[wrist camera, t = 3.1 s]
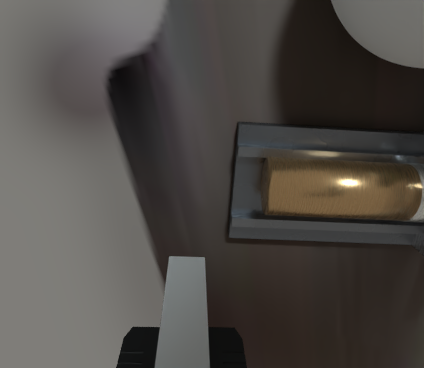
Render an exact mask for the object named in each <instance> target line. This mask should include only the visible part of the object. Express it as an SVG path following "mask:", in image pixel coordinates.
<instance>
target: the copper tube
mask: <svg viewBox="0 0 424 368" xmlns="http://www.w3.org/2000/svg"><path fill="white" fill-rule="evenodd" d="M261 205H262V210H263V213H264V214H265V215H281V216H305V217H328V218H351V219H374V220H397V221H404V222H424V164H417V163H383V162H364V161H345V160H325V159H306V158H287V157H267V158H266V159H265V162H264V165H263V170H262V177H261Z"/></svg>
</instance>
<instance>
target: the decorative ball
mask: <svg viewBox="0 0 424 368" xmlns="http://www.w3.org/2000/svg"><path fill="white" fill-rule="evenodd" d="M331 2H332V5H333V7H334V10H335V12H336V14H337V16H338V18H339V20H340V21H341V23H342V25H343V26H344V27H345V29H346V30H347V31H348V33H349V34H350V35H351V36H352V37H353V38H354V39H355V40H356V41H357V42H358V43H359V44H360V45H361V46H363V47H364V48H365V49H367V50H368V51H370V52H371V53H373V54H374V55H376V56H378V57H380V58H382V59H385V60H387V61H390V62H392V63H396V64H399V65H403V66H408V67H414V68H424V0H331Z"/></svg>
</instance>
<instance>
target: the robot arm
mask: <svg viewBox="0 0 424 368" xmlns="http://www.w3.org/2000/svg"><path fill="white" fill-rule="evenodd" d="M116 368H247V365H246V359H245V354H244V347H243V341H242V338H241V337H240V335H239V334H238V332H237V331H236V329H235V328H219V327H208V316H207V294H206V272H205V257H178V256H169V262H168V270H167V278H166V285H165V293H164V300H163V308H162V315H161V323H160V327H132V328H131V330H130V331H129V332H128V333H127V335H126V336H125V337H124V339H123V344H122V347H121V351H120V355H119V359H118V364H117V367H116Z"/></svg>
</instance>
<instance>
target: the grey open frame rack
mask: <svg viewBox="0 0 424 368" xmlns="http://www.w3.org/2000/svg"><path fill="white" fill-rule="evenodd" d="M267 157H287V158H306V159H325V160H345V161H364V162H383V163H417V164H424V132H409V131H392V130H375V129H357V128H340V127H322V126H305V125H287V124H270V123H253V122H238V126H237V138H236V149H235V160H234V171H233V182H232V193H231V205H230V216H229V227H228V234H229V238H249V239H274V240H300V241H326V242H351V243H377V244H403V245H412V242H413V238H414V235H415V234H422V233H424V222H404V221H397V220H374V219H351V218H328V217H305V216H281V215H265V214H264V213H263V210H262V205H261V177H262V170H263V165H264V162H265V159H266V158H267Z"/></svg>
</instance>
